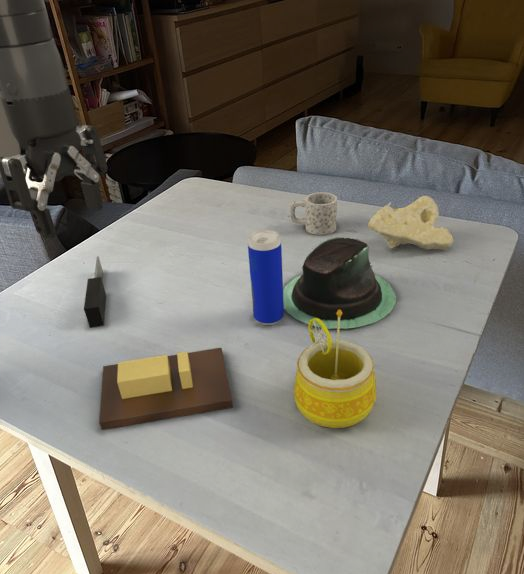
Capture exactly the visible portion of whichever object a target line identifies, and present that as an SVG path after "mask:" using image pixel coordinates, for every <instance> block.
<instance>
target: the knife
mask: <svg viewBox="0 0 524 574" xmlns="http://www.w3.org/2000/svg"><path fill="white" fill-rule="evenodd" d="M94 268H95V269H94V275H93V276H94V277H90V278H87V281H86V282H87V283H86V290H85V297H84V304H83V312H84V314H85V318H86V321H87V324H88V327H89V328H90V329H92V328H98V327H104V326H105V315H106V305H107V292H106V289H105V286H104V285H105V284H104V282H103V279H104V278H103V277H104V270H103V267H102V264H101V259H100V256H96V259H95V267H94Z"/></svg>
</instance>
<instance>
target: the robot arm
mask: <svg viewBox="0 0 524 574" xmlns="http://www.w3.org/2000/svg"><path fill="white" fill-rule="evenodd" d="M50 22H51V21H50V19H49V15H48V11H47V7H46V4H45V0H0V102H1V105H2V108H3V109H2V110H3V112H4V115H5V117H6V120H7V124H8V126H9V129H10V132H11V134H12V135H13V137H14V138H15V140H16V141H17V144H18V154H15V155H12V156H10V157H8V156H0V175H1V176H0V177H1V179H2V182H3V186H4V189H5V193H6V195H7V199H8V202H9V206H10V207H11V208H12V209H15V210H20V211H24V212H28V213H29V215H30V217H31V221H32V223H33V225H34V228H35V231H36V232H37V234H39V235H41V236H42V237H43V238H48V239H53V238H55V237H57V235H58V234H57V233H58V232H57V230H56V227H55V224H54V220H53V218H52V214H51V211H50V208H47V205H48V200H49V195H50V193H52V192H53V191H54V186H55V182H56V183H57V182H59V181H61V180H63V178H64V177H66V176H71V175H73V174H74V175H75V176H76V177H78V178H79V179H80V180H81V182H80V186H81V190H82V194H83V198H84V201H85V204H86V208H87V209H88V210H90V211H94V212H100V211H101V210H103V203H104V202H103V201H104V200H103V196H102V192H101V187H100V183H99V181H100V179H101V178H100V176H101V175H102V174H105V173H107V172H108V164H107V160H106V157H105V152H104V150H103V146H102V143H101V140H100V135H99V133H98V132H99V131H98V129H97V127H96V126H93V125H84V124H79V122H78V117H77V114H76V109H75V106H74V102H73V97H72V93H71V90H70V87H69V83H68V79H67V74H66V71H65V67H64V62H63V60H62V57H61V54H60V52H59V49H58V47H57V44H56V40H55V38H54V34H53V29H52V27H51V23H50ZM80 149H81V151H82V154H81V153H80ZM26 168H27V169H26ZM38 179H41V180H42V181H41V182H40V181H38Z"/></svg>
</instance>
